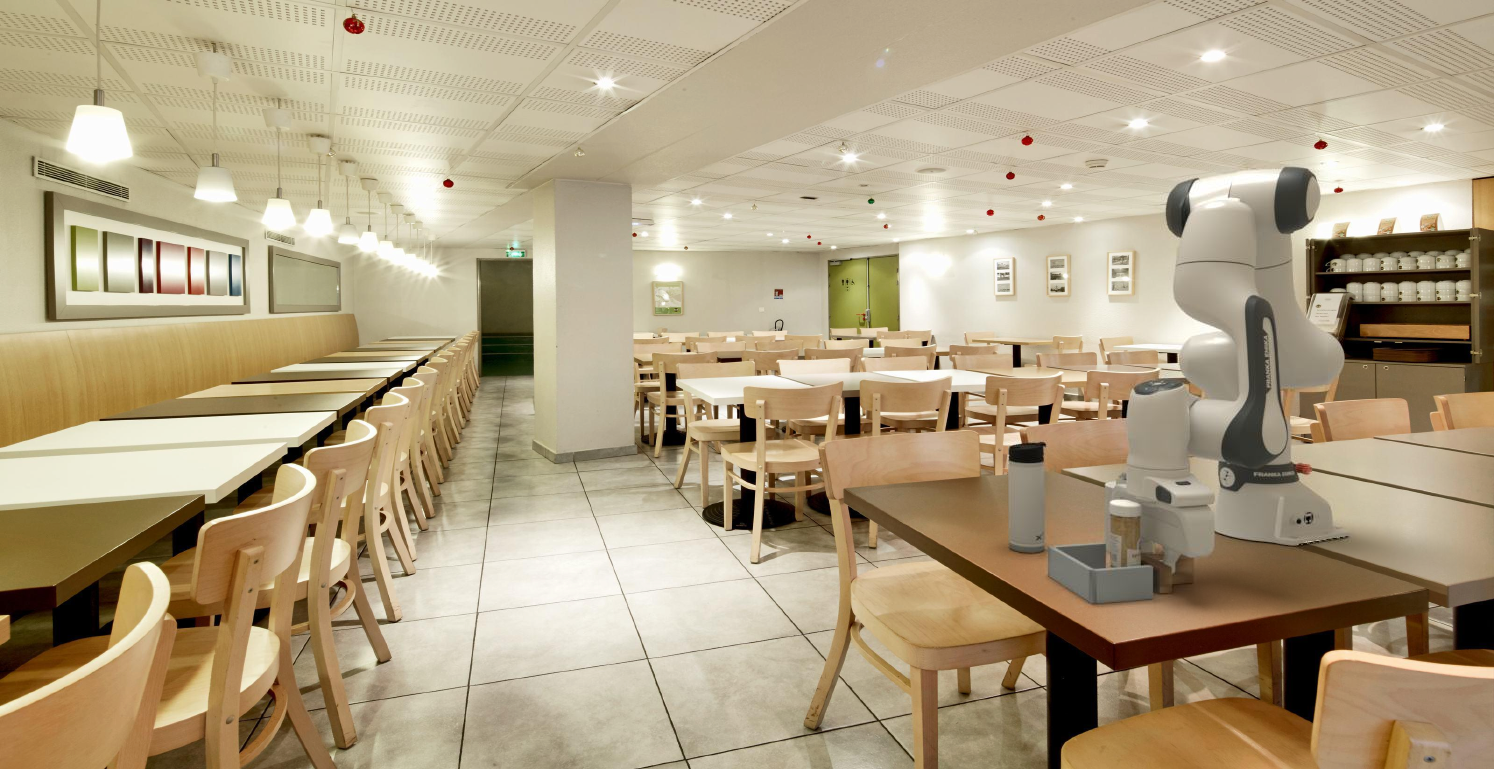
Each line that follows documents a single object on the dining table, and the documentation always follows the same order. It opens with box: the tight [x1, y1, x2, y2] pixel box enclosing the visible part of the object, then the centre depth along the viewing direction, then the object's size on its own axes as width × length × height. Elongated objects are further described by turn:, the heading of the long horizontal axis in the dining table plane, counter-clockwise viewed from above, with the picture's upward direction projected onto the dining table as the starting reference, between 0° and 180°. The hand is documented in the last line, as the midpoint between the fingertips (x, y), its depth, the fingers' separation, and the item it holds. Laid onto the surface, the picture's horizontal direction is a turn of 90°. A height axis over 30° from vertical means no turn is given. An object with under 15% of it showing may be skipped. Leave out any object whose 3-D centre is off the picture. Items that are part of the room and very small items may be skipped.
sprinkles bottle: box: [1109, 500, 1142, 568], centre depth 117 cm, size 5×5×14 cm
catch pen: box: [1047, 542, 1154, 605], centre depth 117 cm, size 10×13×5 cm
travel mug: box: [1007, 441, 1047, 554], centre depth 137 cm, size 6×7×20 cm
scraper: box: [1140, 553, 1195, 595], centre depth 118 cm, size 8×9×4 cm
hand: (1157, 567), depth 118 cm, fingers closed on scraper, 3 cm apart
